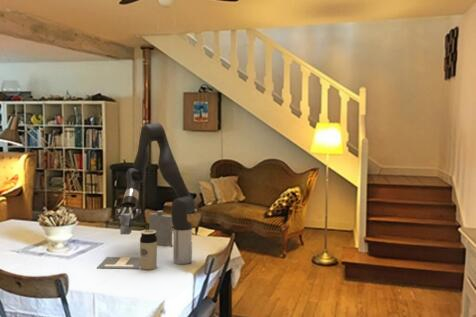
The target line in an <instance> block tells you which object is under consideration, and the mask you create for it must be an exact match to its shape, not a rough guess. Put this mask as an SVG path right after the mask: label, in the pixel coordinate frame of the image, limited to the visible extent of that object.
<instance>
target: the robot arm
mask: <svg viewBox="0 0 476 317" xmlns="http://www.w3.org/2000/svg"><path fill="white" fill-rule="evenodd" d="M150 142H151V143H152V142H156V143H157V144H158V147H159V156H158V162H157V163H158V164H157V167H158V170H159V172H160V175H161V177H162V178H163V180H164V181H165V182H166V183H167V184H168V185H169V186H170V187H171V188H172V190H173V191H174V193H175V195H176V196H177V197H176V198H175V199H174V200H173V201H172V203H171V216H172V227H173V244H172V246H173V247H172V248H173V258H172V259H173V263H174V264H176V265H177V264H178V265H187V264H191V263H192V260H193V242H192V240H193V238H192V237H193V234H192V231H193V230H192V228H193V224H192V222H191V221H189V220H188V215H191V214H192V213H194V211H195V209H196V206H195V201H194V198H193V197H192V195H191V193H190V191H189V190H188V187H187V185H186V184H185V181H184V178H183V176H182V175H181V171H180V169H179V167H178V163H177V162H176V159H175V157H174V154H173V152H172V150H171V147H170V144H169V140H168V138H167V134H166V130H165V128H164V126H163V125H162V124H161V123H160V122H154V123H146V124H144V125H143V126H142V127H141V129H140V135H139V141H138V147H137V148H138V149H137V153H136V156H135V158H134V162H133V164H132V165H133V167H129V168H128V169H127V171H126V174H125V175H126V176H125V177H126V189H125V192H124V196H123V200H122V204H121V207H120V208H115V209H114V211H115V213H114V214H115V219H116V220H117V221H118V222H117V225H118V227H119V228H120V215H121V214H124V213H130V214H131V217H130V218H131V219H130V222H129V227H131V228H132V227H133V225H134V221H138V219H139V218H140V215H141V213H142V209H141V208H137V207H138V201H139V196H140V195H139V194H140V190H141V183H143V182H144V181H145V180H146V168H147V165H148V163H149V161H150V153H149V150H148V147H149V146H148V145H149V144H150Z"/></svg>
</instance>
